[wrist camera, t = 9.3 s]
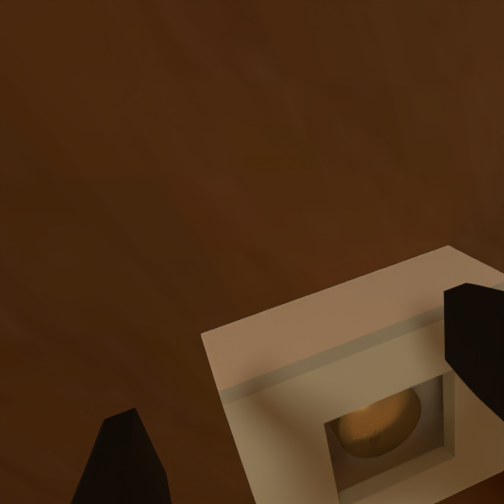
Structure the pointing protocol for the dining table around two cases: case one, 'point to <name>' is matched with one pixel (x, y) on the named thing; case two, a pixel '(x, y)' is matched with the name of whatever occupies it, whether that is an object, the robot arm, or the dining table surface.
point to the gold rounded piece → (378, 425)
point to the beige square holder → (356, 388)
